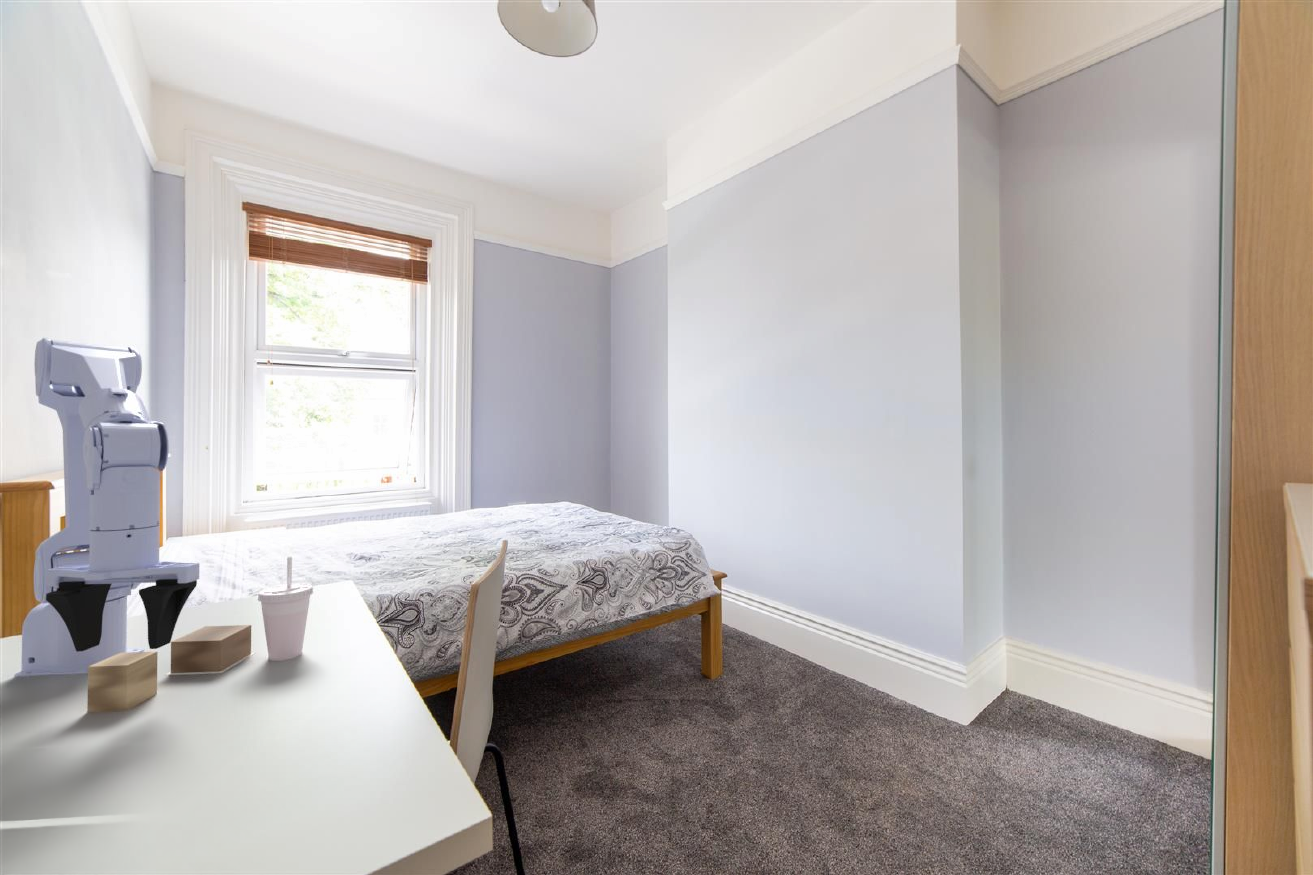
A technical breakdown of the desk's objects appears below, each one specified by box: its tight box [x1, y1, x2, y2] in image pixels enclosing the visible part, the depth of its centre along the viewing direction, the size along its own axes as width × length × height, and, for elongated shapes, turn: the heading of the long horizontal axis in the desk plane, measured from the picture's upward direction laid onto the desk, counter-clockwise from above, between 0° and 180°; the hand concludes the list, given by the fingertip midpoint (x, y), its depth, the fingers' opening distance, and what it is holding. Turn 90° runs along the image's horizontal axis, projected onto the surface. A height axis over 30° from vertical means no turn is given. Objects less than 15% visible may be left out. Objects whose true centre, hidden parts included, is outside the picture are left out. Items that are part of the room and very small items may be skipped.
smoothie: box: [257, 556, 314, 662], centre depth 75 cm, size 6×6×14 cm
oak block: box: [86, 651, 158, 713], centre depth 62 cm, size 4×4×5 cm
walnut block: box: [170, 624, 252, 673], centre depth 73 cm, size 6×6×4 cm
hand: (124, 646), depth 62 cm, fingers open, 7 cm apart
